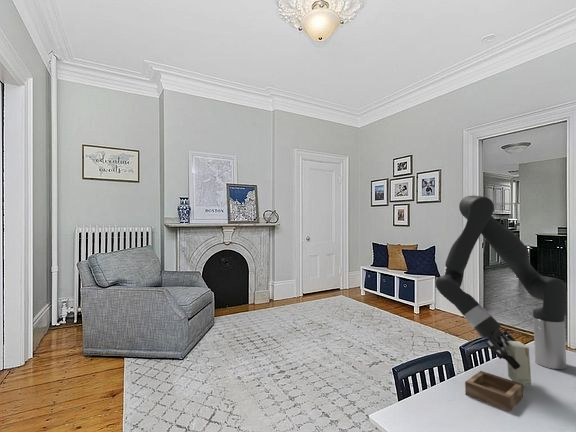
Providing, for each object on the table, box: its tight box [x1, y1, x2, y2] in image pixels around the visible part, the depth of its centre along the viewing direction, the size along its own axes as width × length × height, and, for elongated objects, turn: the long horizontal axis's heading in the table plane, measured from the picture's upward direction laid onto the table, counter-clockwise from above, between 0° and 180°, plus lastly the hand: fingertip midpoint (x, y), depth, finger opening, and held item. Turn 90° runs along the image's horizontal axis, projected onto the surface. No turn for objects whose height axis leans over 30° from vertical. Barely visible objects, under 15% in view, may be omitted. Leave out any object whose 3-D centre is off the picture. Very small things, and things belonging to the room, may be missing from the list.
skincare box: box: [506, 340, 532, 387], centre depth 104 cm, size 6×4×12 cm
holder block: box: [464, 370, 525, 412], centre depth 98 cm, size 12×12×4 cm
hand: (522, 364), depth 104 cm, fingers closed on skincare box, 7 cm apart
